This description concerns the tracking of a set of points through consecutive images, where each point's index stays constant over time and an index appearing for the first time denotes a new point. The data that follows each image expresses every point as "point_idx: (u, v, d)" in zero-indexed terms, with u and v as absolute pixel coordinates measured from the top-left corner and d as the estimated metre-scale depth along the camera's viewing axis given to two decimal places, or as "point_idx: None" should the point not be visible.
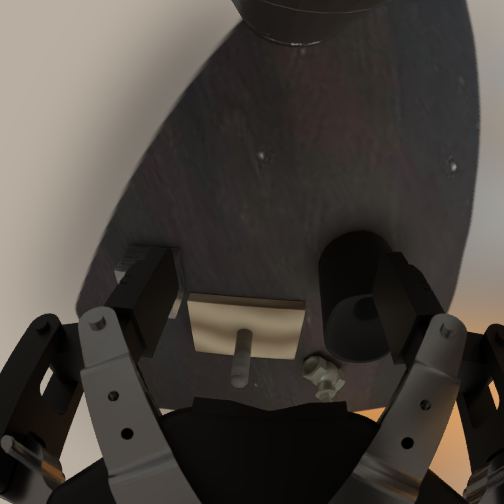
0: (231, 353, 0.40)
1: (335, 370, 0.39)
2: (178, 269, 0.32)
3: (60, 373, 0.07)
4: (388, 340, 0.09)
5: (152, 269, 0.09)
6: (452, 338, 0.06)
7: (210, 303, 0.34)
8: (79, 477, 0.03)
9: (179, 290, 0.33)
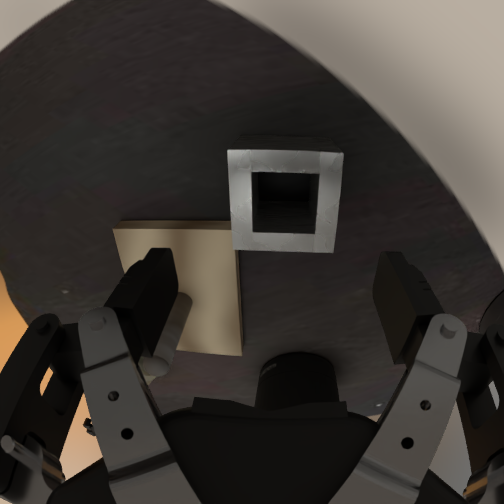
0: None
1: None
2: None
3: (60, 373, 0.07)
4: (388, 340, 0.09)
5: (152, 269, 0.09)
6: (452, 338, 0.06)
7: (234, 263, 0.23)
8: (78, 477, 0.03)
9: None
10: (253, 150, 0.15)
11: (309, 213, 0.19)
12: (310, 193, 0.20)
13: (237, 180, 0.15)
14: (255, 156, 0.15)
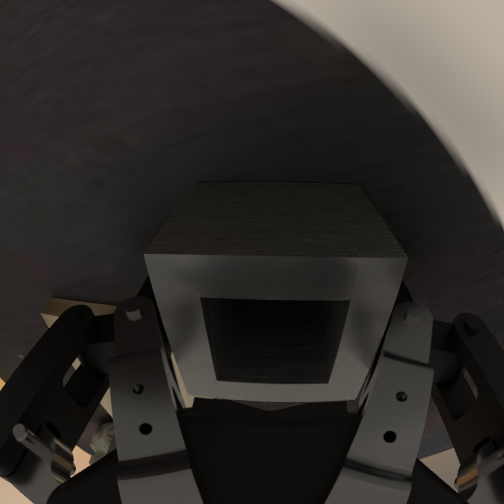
0: None
1: None
2: None
3: (87, 365, 0.07)
4: None
5: None
6: (415, 325, 0.07)
7: None
8: (78, 477, 0.03)
9: None
10: (199, 256, 0.06)
11: (318, 321, 0.11)
12: None
13: (175, 310, 0.07)
14: (205, 268, 0.07)
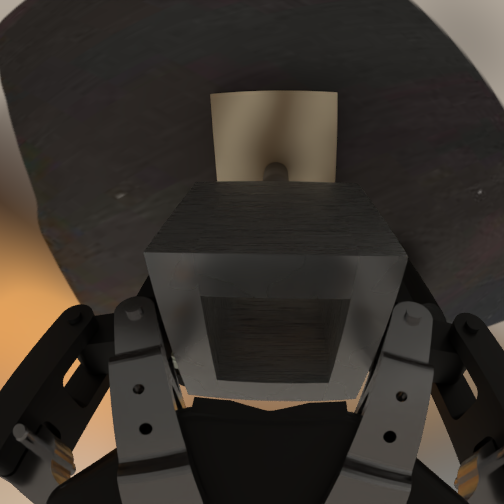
0: (219, 153, 0.23)
1: None
2: None
3: (88, 365, 0.07)
4: None
5: None
6: (415, 325, 0.07)
7: (336, 126, 0.21)
8: (79, 477, 0.03)
9: None
10: (199, 254, 0.06)
11: (318, 320, 0.11)
12: None
13: (175, 308, 0.07)
14: (205, 267, 0.07)
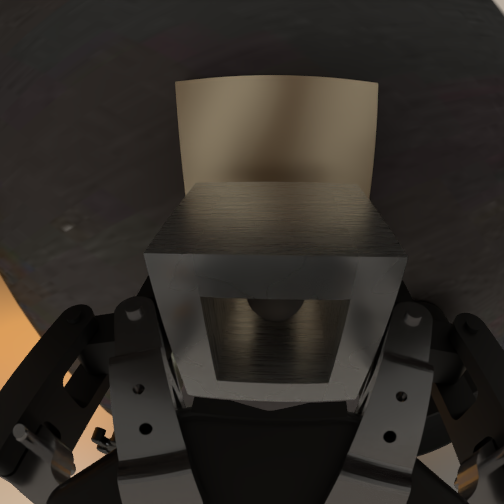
0: (190, 175, 0.15)
1: None
2: None
3: (88, 365, 0.07)
4: None
5: None
6: (415, 325, 0.07)
7: (374, 136, 0.13)
8: (79, 477, 0.03)
9: None
10: (199, 255, 0.06)
11: (318, 321, 0.11)
12: None
13: (175, 309, 0.07)
14: (205, 268, 0.07)
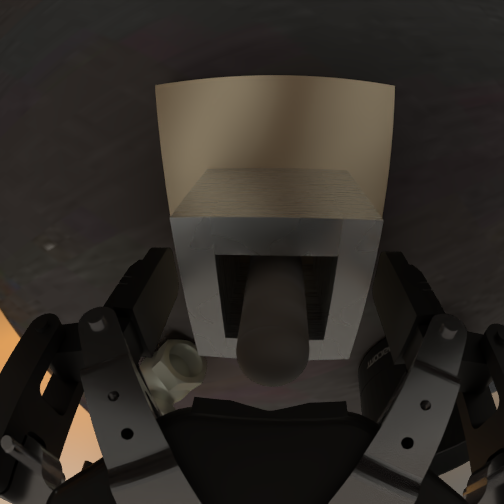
0: (175, 194, 0.13)
1: None
2: None
3: (60, 373, 0.07)
4: (388, 340, 0.09)
5: (152, 269, 0.09)
6: (452, 338, 0.06)
7: (389, 148, 0.11)
8: (79, 477, 0.03)
9: None
10: (216, 218, 0.08)
11: (314, 290, 0.13)
12: (316, 257, 0.13)
13: (193, 267, 0.09)
14: (220, 228, 0.08)
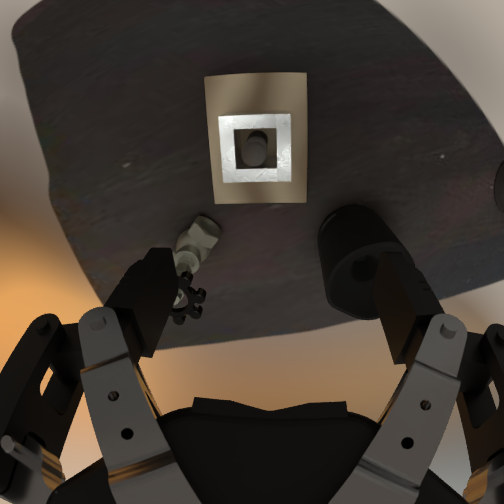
0: (211, 124, 0.28)
1: (207, 256, 0.35)
2: None
3: (60, 373, 0.07)
4: (388, 340, 0.09)
5: (152, 269, 0.09)
6: (452, 338, 0.06)
7: (306, 99, 0.26)
8: (79, 478, 0.03)
9: None
10: (234, 116, 0.23)
11: (275, 160, 0.27)
12: (276, 148, 0.28)
13: (225, 135, 0.24)
14: (235, 119, 0.23)
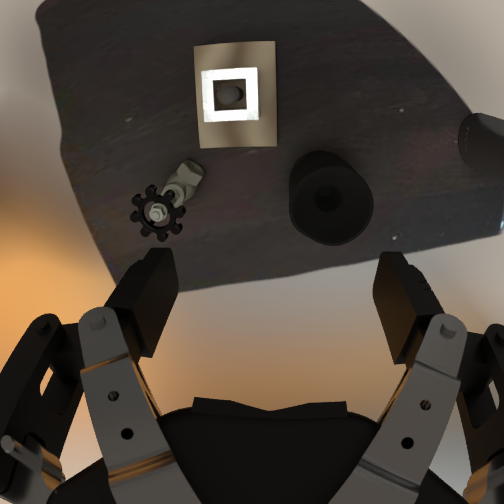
0: (198, 82, 0.32)
1: (192, 195, 0.39)
2: None
3: (60, 373, 0.07)
4: (388, 340, 0.09)
5: (152, 269, 0.09)
6: (452, 338, 0.06)
7: (274, 61, 0.30)
8: (79, 477, 0.03)
9: None
10: (213, 70, 0.27)
11: None
12: None
13: (206, 84, 0.28)
14: (214, 73, 0.27)
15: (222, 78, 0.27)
